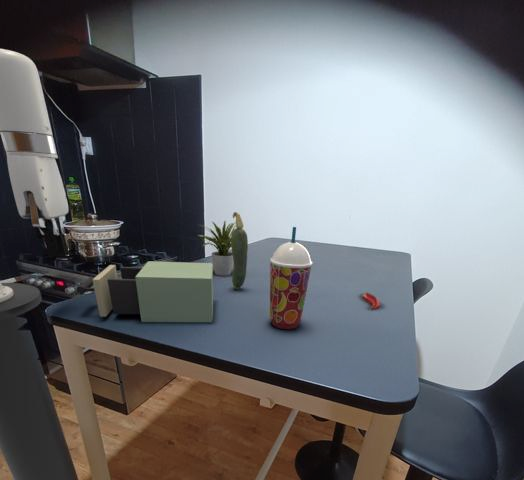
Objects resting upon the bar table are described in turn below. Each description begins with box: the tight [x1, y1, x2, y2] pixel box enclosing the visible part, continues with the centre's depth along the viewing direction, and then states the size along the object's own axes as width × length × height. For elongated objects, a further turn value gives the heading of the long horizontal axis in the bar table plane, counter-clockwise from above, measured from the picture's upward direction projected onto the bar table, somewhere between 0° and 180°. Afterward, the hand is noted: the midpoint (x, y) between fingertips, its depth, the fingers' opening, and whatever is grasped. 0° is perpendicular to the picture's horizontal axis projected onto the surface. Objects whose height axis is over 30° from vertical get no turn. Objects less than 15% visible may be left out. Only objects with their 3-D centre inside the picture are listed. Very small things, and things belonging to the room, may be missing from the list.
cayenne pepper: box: [362, 292, 381, 310], centre depth 85 cm, size 12×5×2 cm, turn 163°
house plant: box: [197, 220, 236, 277], centre depth 99 cm, size 14×14×16 cm
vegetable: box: [230, 211, 249, 291], centre depth 83 cm, size 4×4×20 cm
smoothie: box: [269, 226, 313, 330], centre depth 64 cm, size 8×8×20 cm
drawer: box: [75, 264, 144, 318], centre depth 69 cm, size 18×11×8 cm, turn 97°
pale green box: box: [135, 260, 214, 323], centre depth 70 cm, size 15×13×10 cm
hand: (59, 255), depth 63 cm, fingers closed
